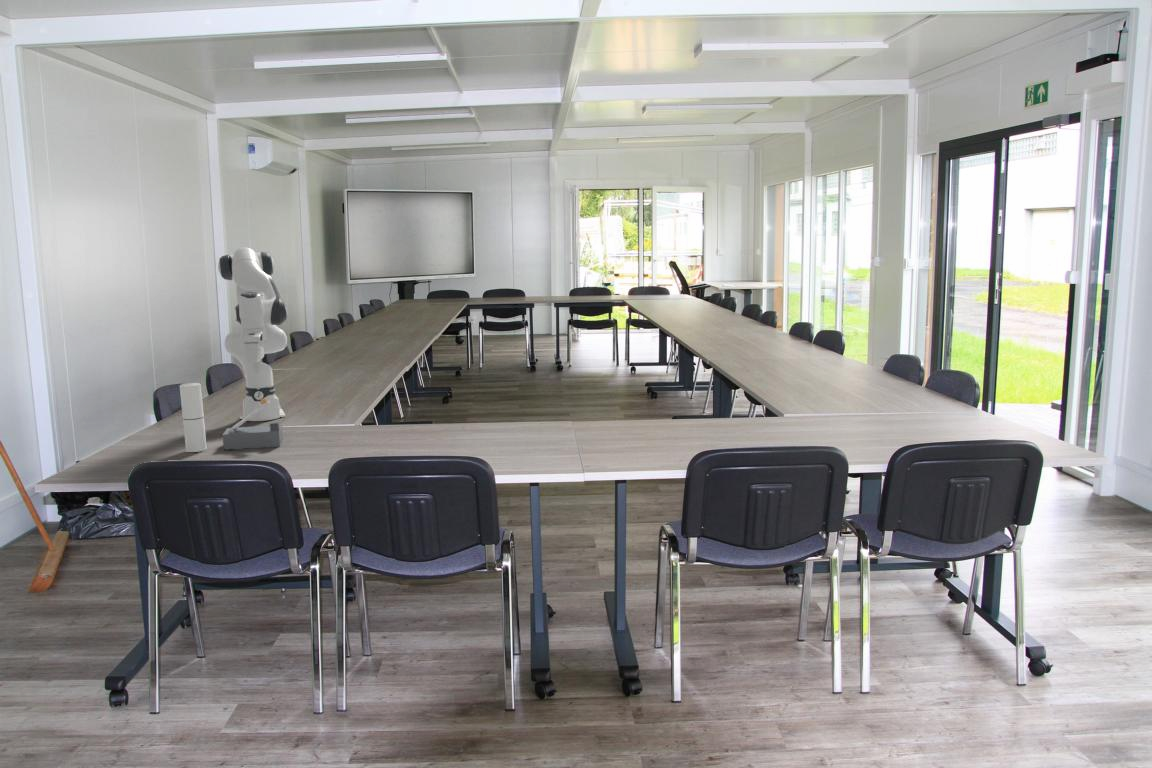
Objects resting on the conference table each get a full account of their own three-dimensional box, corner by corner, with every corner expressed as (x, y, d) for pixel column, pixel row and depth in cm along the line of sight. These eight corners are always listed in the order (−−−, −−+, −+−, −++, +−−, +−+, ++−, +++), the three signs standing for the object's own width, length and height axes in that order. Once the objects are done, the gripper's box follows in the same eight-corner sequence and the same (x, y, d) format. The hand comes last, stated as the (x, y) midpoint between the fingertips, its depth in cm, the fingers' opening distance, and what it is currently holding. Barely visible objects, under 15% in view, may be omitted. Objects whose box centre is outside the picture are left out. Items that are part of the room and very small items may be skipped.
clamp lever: (233, 429, 329) (229, 424, 328) (270, 402, 330) (265, 396, 329) (232, 431, 325) (227, 426, 324) (268, 404, 326) (264, 398, 326)
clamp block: (228, 443, 333) (226, 420, 331) (283, 439, 337) (281, 417, 335) (223, 450, 322) (221, 426, 321) (280, 446, 326) (278, 423, 325)
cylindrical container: (188, 454, 318) (181, 387, 313) (184, 450, 323) (177, 384, 319) (208, 450, 322) (202, 384, 317) (204, 447, 327) (198, 382, 323)
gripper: (249, 334, 334) (252, 369, 336) (241, 338, 315) (244, 376, 317) (266, 333, 336) (269, 368, 338) (259, 337, 316) (262, 375, 318)
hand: (257, 372), depth 327 cm, fingers closed
